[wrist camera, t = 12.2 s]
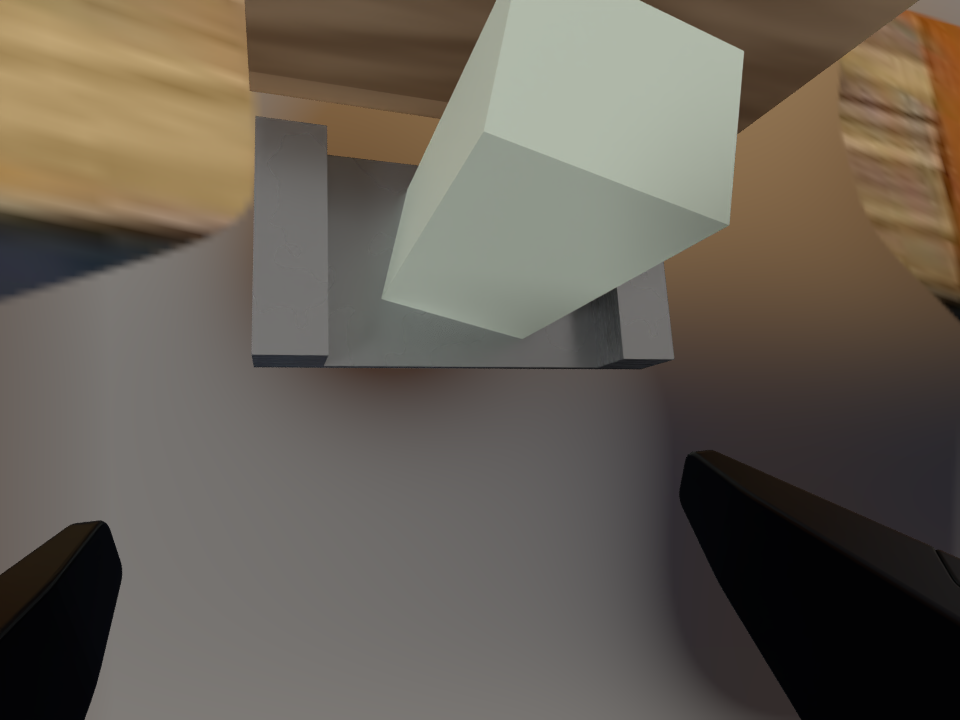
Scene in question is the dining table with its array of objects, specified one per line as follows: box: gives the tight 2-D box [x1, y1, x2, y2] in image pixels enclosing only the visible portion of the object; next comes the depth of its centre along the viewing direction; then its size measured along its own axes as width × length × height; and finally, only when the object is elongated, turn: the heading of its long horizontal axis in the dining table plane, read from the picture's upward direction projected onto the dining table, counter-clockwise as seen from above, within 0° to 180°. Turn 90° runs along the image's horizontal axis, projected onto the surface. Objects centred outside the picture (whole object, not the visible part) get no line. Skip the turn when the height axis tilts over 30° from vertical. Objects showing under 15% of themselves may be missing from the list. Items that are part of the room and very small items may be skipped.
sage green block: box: [381, 0, 744, 339], centre depth 16 cm, size 4×6×10 cm
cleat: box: [252, 116, 674, 369], centre depth 20 cm, size 7×14×2 cm, turn 93°
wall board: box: [245, 0, 918, 134], centre depth 18 cm, size 3×18×9 cm, turn 93°
